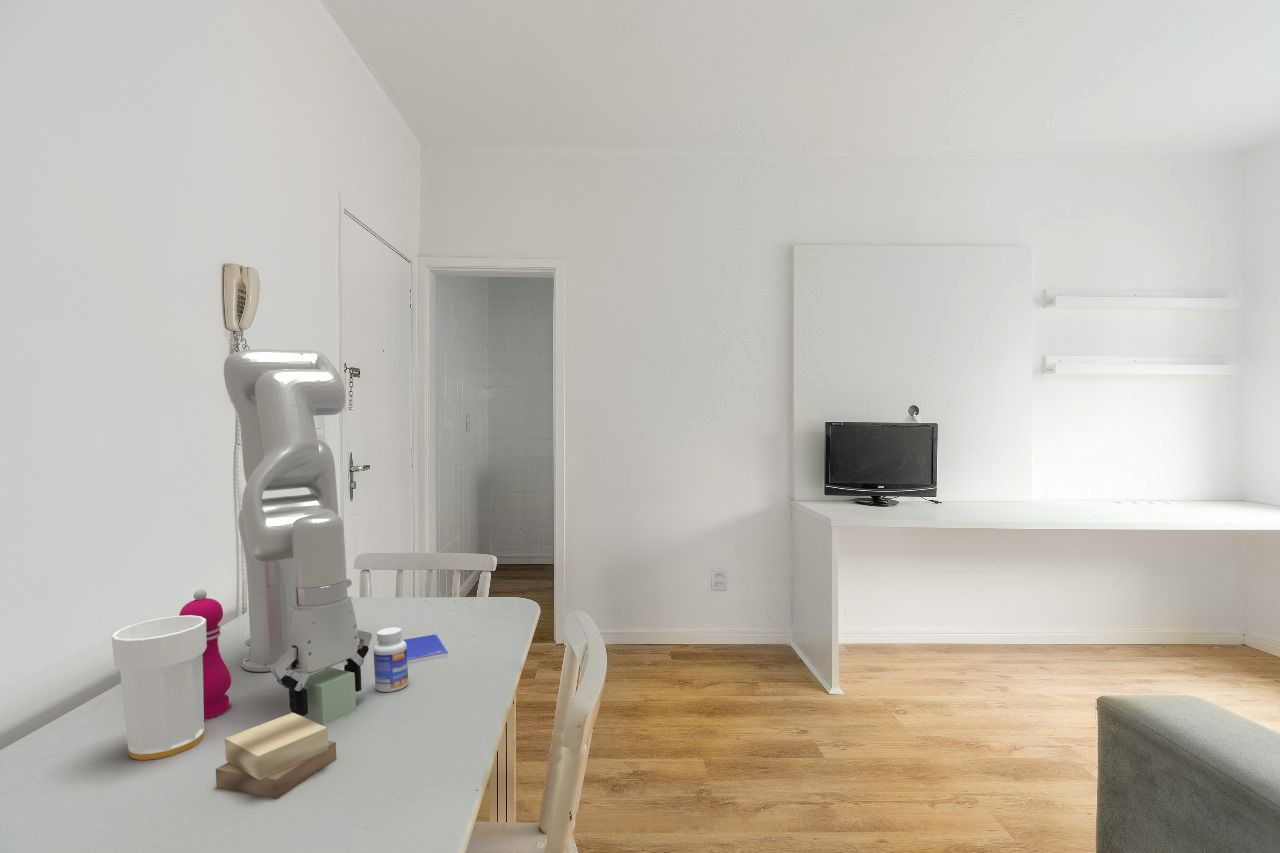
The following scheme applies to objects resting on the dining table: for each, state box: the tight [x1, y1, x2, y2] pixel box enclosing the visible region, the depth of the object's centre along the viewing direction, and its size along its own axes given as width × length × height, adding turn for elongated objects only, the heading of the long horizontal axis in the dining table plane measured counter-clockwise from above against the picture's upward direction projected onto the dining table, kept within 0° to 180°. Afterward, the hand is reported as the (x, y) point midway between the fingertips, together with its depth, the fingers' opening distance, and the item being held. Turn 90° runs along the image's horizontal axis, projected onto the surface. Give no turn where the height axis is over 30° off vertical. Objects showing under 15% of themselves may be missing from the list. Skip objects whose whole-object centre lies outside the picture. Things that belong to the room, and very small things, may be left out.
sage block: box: [300, 666, 357, 726], centre depth 111 cm, size 6×6×6 cm
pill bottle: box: [373, 626, 409, 693], centre depth 121 cm, size 5×5×10 cm
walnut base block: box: [215, 740, 337, 800], centre depth 93 cm, size 10×10×3 cm
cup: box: [111, 615, 207, 761], centre depth 102 cm, size 11×11×17 cm
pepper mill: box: [178, 589, 232, 720], centre depth 113 cm, size 7×7×20 cm
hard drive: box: [402, 634, 449, 665], centre depth 138 cm, size 2×8×12 cm
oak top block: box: [224, 712, 329, 780], centre depth 93 cm, size 9×9×3 cm
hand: (327, 701), depth 110 cm, fingers open, 9 cm apart
